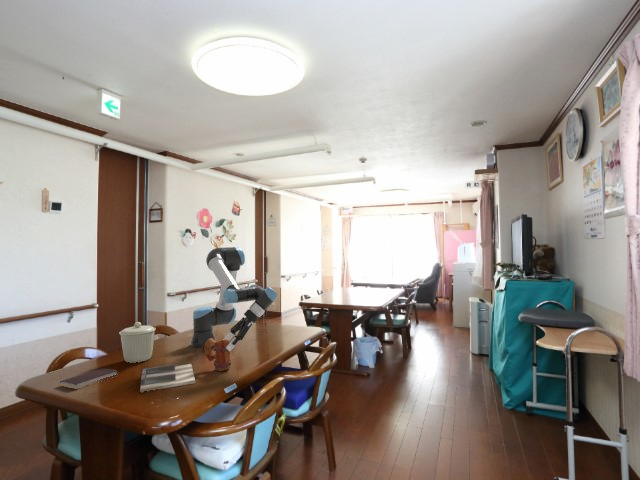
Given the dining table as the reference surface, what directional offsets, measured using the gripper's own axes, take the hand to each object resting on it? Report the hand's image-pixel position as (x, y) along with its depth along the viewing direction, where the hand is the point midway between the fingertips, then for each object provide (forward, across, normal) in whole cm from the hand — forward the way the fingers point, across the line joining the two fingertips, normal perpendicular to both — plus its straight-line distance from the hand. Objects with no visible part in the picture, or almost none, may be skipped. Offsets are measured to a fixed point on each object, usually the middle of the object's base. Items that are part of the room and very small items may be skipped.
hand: (225, 346), depth 175 cm
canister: (+37, +39, +22) cm, 58 cm away
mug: (+10, +1, -5) cm, 12 cm away
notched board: (+26, 0, +11) cm, 29 cm away
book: (+50, +16, +34) cm, 63 cm away
